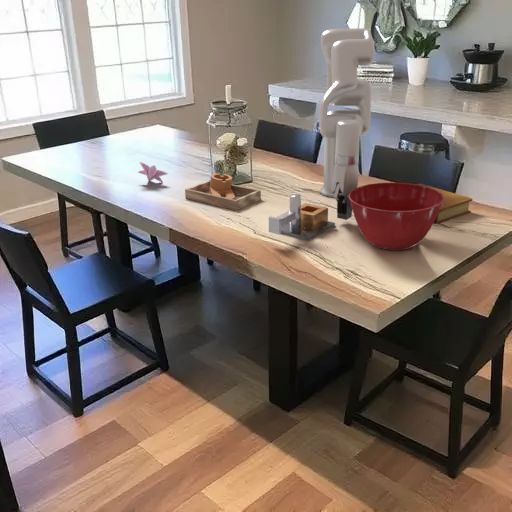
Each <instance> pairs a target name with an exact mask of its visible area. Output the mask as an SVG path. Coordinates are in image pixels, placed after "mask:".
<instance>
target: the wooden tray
mask: <svg viewBox="0 0 512 512" xmlns="http://www.w3.org/2000/svg"><path fill="white" fill-rule="evenodd" d="M231 189H232V191H233V193H234V196H241V197H239V198H235V199H229V198H225V197H221V196H216V195H212V194H209V193H207V192H209V190H210V179H209V180H206V181H203V182H202V183H198V184H196V185H194V186H190V187H188V188H185V189H184V195H185V199H188V200H192V201H196V202H200V203H204V204H208V205H213V206H217V207H221V208H226V209H229V210H233V211H237V210H240V209H243V208H244V207H246V206H249V205H252V204H253V203H255V202H258V201H260V200H262V197H261V196H262V192H261V190H260V189H256V188H250V187H247V186H241V185H238V184H237V185H236V184H233V183H232V185H231ZM215 200H217V202H218V205H215V204H214V202H215Z"/></svg>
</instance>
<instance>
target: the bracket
mask: <svg viewBox="0 0 512 512" xmlns="http://www.w3.org/2000/svg"><path fill="white" fill-rule="evenodd" d="M209 180H210V190H208V192H209V193H208V194H212V195H216V196H221V197H225V198H229V199H234V200H236V198H235V197H236V195H235V194H234V193H233V191H232V189H231V185H232V184H233V176H232V175H229V174H226V173H223V175H221V173H213V174H210V177H209ZM214 204H215V205H214V206H216V205H218V202H217V200H215V202H214Z"/></svg>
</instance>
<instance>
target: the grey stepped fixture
mask: <svg viewBox="0 0 512 512" xmlns="http://www.w3.org/2000/svg"><path fill="white" fill-rule="evenodd" d="M328 218H329V208H328V207H326V206H322V205H316V204H312V203H307V202H305V203H303V204H302V195H301V194H297V193H292V194H289V210H287V211H286V212H284V213H282V214H280V215H278V216H272V215H270V216H268V232H269V233H271V234H275V235H277V236H278V235H281V234H282V235H285V236H290V237H293V238H297V239H301V240H304V241H309V242H310V241H311V240H313V239H314V238H316V237H318V236H320V235H321V234H323V233H324V232H327V231H328V230H330V229H332V228H334V227H335V226H336V223H335V222H333V221H329V219H328Z"/></svg>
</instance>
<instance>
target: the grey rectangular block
mask: <svg viewBox="0 0 512 512" xmlns="http://www.w3.org/2000/svg"><path fill="white" fill-rule="evenodd" d="M340 193H342V192H340ZM349 193H350V192H349ZM349 193H348V194H346V201H345V203H347V204H346V214H340V213H337V212H336V218H337V219H340V220H345V221H347V220H349V219H350V218H352V216H353V210H352V206H351V202H350V199H349ZM340 197H342V198H343V196H341V195H340Z"/></svg>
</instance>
